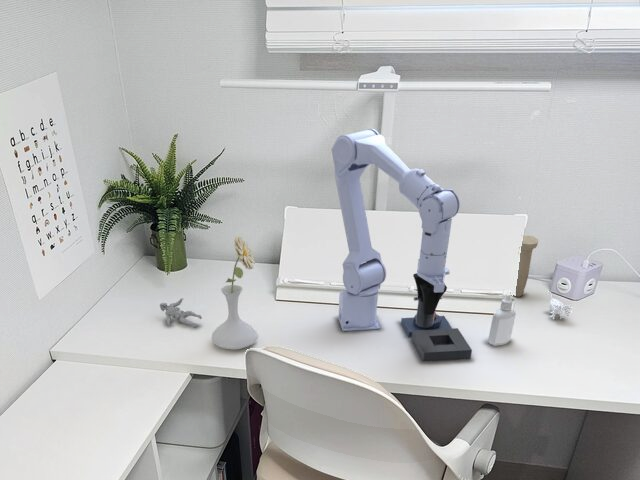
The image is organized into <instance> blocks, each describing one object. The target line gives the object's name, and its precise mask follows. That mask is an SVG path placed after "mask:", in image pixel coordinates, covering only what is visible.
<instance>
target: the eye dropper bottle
mask: <svg viewBox="0 0 640 480" xmlns="http://www.w3.org/2000/svg"><path fill="white" fill-rule="evenodd" d="M513 303H514V301H513V299H511V294H509V293H507V294H506V296H505V297H504V298H502V299H501V302H500V307H499V308H498V309H497V310H496V311H495V312H494V313H493V315H492V318H491V324H490V328H489V335H488V338H487V343H488V344H490V345H491V346H495V347H497V346H504V345H506V344H508V343H509V342H510V341H511V338H512V333H513V329H514V323H515V319H516V315H517V314H516V313H517V312H516V311H515V310H514V309H512V307H513Z"/></svg>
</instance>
